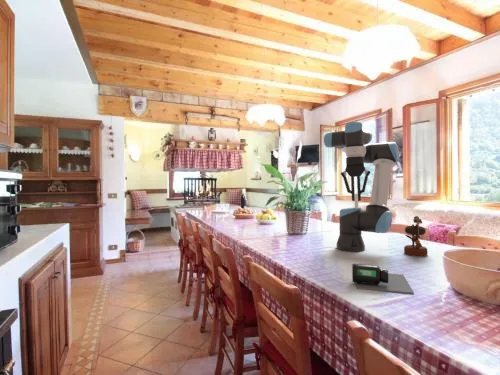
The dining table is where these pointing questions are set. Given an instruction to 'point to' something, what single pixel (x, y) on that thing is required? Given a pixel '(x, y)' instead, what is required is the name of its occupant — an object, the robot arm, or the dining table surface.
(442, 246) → the dining table surface
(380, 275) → the supplement bottle
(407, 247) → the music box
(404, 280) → the mat
